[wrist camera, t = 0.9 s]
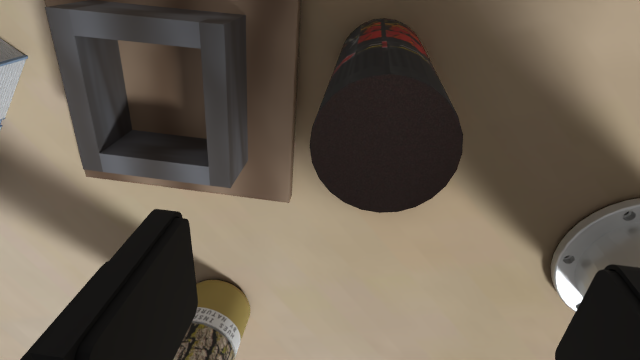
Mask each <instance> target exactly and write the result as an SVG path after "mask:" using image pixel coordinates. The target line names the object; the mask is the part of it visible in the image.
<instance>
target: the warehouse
mask: <svg viewBox="0 0 640 360" xmlns="http://www.w3.org/2000/svg"><path fill="white" fill-rule="evenodd" d="M26 59H28V56H27V55H24V54H22V53H21V52H19V51H18V50H16V49H15V48H13V47H12V46H11V45H9V44H8V43H6V42H5V41H3V40H2V39H0V124H1V121H2V120H3V119H5V116H6V113H7V111H8V108H9V105H10V102H11V100H12V97H13V94H14V91H15V88H16V86H17V83H18V80H19V77H20V75H21V72H22V69H23V66H24V64H25V61H26ZM1 127H2V125H0V130H1Z"/></svg>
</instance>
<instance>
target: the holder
mask: <svg viewBox="0 0 640 360" xmlns="http://www.w3.org/2000/svg"><path fill="white" fill-rule="evenodd" d="M45 4H46V7H45V9H46V14H47V18H48V22H49V26H50V30H51V35H52V39H53V43H54V47H55V52H56V56H57V60H58V64H59V68H60V73H61V77H62V81H63V85H64V90H65V94H66V98H67V102H68V106H69V111H70V115H71V119H72V123H73V127H74V132H75V136H76V140H77V144H78V149H79V153H80V157H81V161H82V165H83V169H84V170H85V174H86V177H93V178H101V179H109V180H117V181H124V182H132V183H140V184H148V185H155V186H163V187H171V188H178V189H186V190H194V191H202V192H209V193H217V194H225V195H233V196H240V197H248V198H256V199H263V200H271V201H279V202H287V203H289V202H290V199H291V196H292V178H293V157H294V135H295V114H296V92H297V70H298V49H299V27H300V6H301V0H45Z"/></svg>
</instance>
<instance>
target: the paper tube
mask: <svg viewBox="0 0 640 360" xmlns="http://www.w3.org/2000/svg"><path fill="white" fill-rule="evenodd" d="M196 287H197V296H198V307H197V311H196V314H195V317H194V319H193V321H192V323H191V325H190V327H189V329H188V331H187V333H186V335H185V337H184V339H183V341H182V343H181V345H180V347H179V349H178V351H177V353H176V355H175V357H174V359H173V360H234V359H235V356H236V353H237V350H238V348H239V345H240V341H241V338H242V336H243V333H244V330H245V327H246V324H247V322H248V319H249V316H250V305H249V302H248V300H247V298H246V296H245V295H244V294H243V292H242V291H241V290H239V289H238V288H237V287H235V286H234V285H232V284H230V283H227V282H224V281H220V280H206V281H202V282H200V283H197V284H196Z"/></svg>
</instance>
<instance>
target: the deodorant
mask: <svg viewBox="0 0 640 360" xmlns="http://www.w3.org/2000/svg"><path fill="white" fill-rule="evenodd" d="M462 144H463V133H462V130H461V126H460V122H459V119H458V116H457V114H456V112H455V110H454V108H453V106H452V104H451V102H450V100H449V98H448V96H447V94H446V92H445V90H444V88H443V86H442V84H441V82H440V80H439V78H438V76H437V74H436V72H435V70H434V68H433V66H432V64H431V62H430V60H429V58H428V56H427V54H426V52H425V50H424V48H423V46H422V44H421V42H420V41H419V39H418V37H417V36H416V34H415V33H414V32H413V31H412V30H411V29H410V28H409V27H408V26H406V25H405V24H403V23H401V22H398V21H396V20H391V19H376V20H371V21H369V22H367V23H364V24H362V25H361V26H359V27H358V28H357V29H355V30H354V31H353V32H352V33H351V34H350V36H349V37H348V38H347V40H346V41H345V44H344V46H343V48H342V51H341V53H340V56H339V59H338V61H337V64H336V66H335V69H334V72H333V74H332V77H331V80H330V82H329V85H328V87H327V90H326V93H325V95H324V98H323V101H322V103H321V106H320V108H319V111H318V114H317V116H316V119H315V122H314V124H313V127H312V132H311V140H310V151H311V158H312V163H313V166H314V168H315V170H316V172H317V174H318V177H319V179H320V180H321V181H322V182H323V184H324V185H325V186H326V187H327V188H328V190H329V191H330V192H331V193H332V194H334V195H335V196H336V197H338V198H339V199H341V200H342V201H343V202H345V203H347V204H349V205H352V206H354V207H357V208H359V209H361V210H367V211H373V212H379V213H380V212H398V211H402V210H406V209H410V208H413V207H416V206H418V205H420V204H422V203H424V202H426V201H428V200H429V199H431V198H433V197H434V196H435V195H436V194H437V193H438V192H439V191H441V190H442V189H443V188H444V187H445V186H446V185H447V183H448V182H449V181H450V179H451V178H452V176H453V175H454V173H455V172H456V170H457V167H458V164H459V161H460V158H461V155H462Z"/></svg>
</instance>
